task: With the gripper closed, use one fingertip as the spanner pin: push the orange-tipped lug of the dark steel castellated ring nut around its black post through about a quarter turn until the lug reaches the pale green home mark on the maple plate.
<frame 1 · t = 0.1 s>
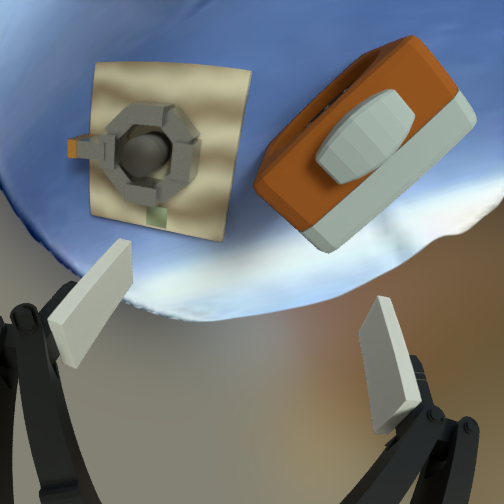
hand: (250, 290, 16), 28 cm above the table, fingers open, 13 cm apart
ring nut: (129, 150, 37), point 4 cm above the table, hinge at 0.0°
alarm clock: (339, 121, 37), on the table
collar base: (159, 146, 41), on the table
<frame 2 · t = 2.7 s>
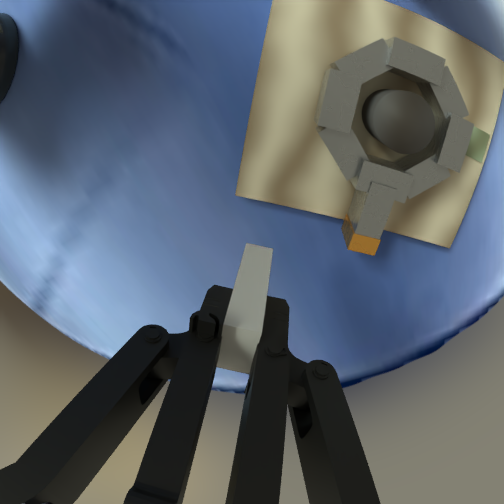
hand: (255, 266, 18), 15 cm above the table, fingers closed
ring nut: (388, 147, 23), point 4 cm above the table, hinge at 0.0°
collar base: (383, 113, 25), on the table
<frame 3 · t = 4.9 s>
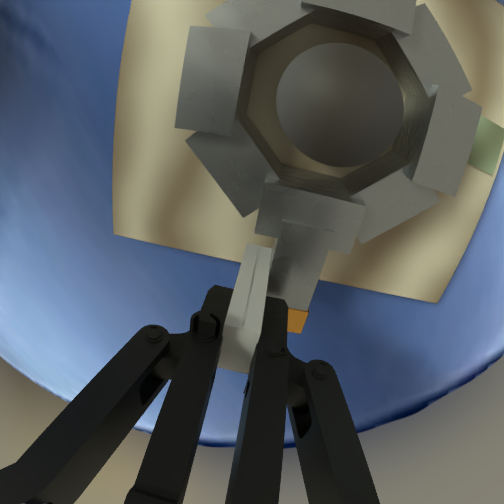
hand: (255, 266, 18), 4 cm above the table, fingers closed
ring nut: (321, 155, 14), point 4 cm above the table, hinge at 0.2°, touching gripper
collar base: (324, 98, 16), on the table
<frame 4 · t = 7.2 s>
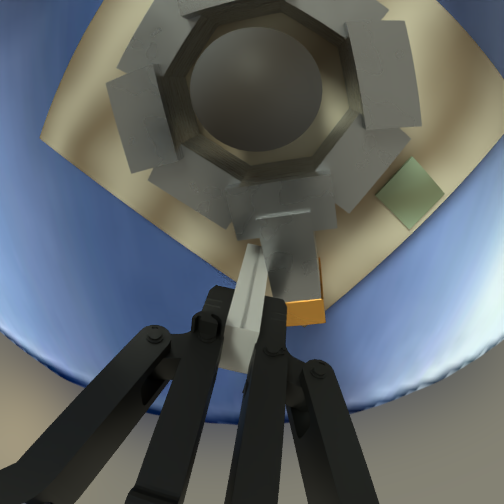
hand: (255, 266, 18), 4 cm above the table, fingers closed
ring nut: (273, 143, 14), point 4 cm above the table, hinge at 48.8°, touching gripper
collar base: (269, 88, 16), on the table
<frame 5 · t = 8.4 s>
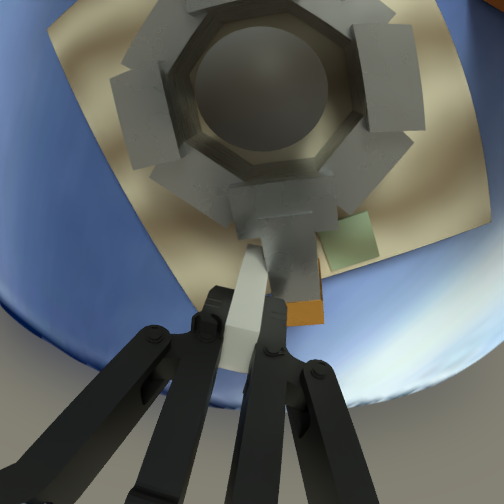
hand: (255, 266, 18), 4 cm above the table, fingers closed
ring nut: (276, 143, 14), point 4 cm above the table, hinge at 76.3°, touching gripper
collar base: (273, 87, 16), on the table
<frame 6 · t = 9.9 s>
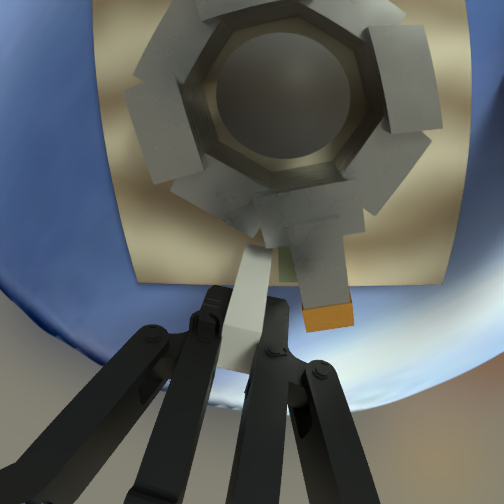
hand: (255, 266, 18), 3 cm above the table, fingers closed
ring nut: (298, 149, 14), point 4 cm above the table, hinge at 101.0°
collar base: (285, 93, 16), on the table
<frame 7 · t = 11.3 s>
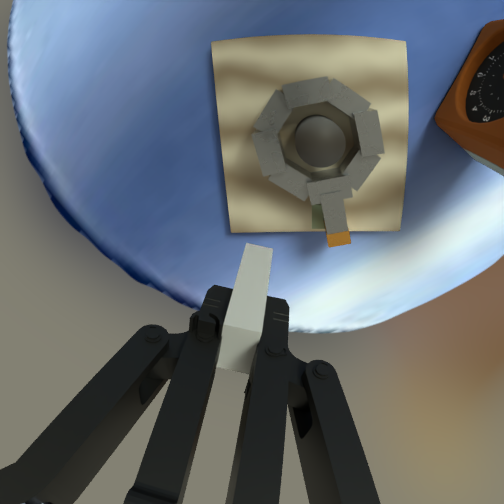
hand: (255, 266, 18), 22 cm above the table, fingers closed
ring nut: (323, 162, 32), point 4 cm above the table, hinge at 101.0°
alarm clock: (481, 88, 28), on the table
collar base: (315, 134, 35), on the table
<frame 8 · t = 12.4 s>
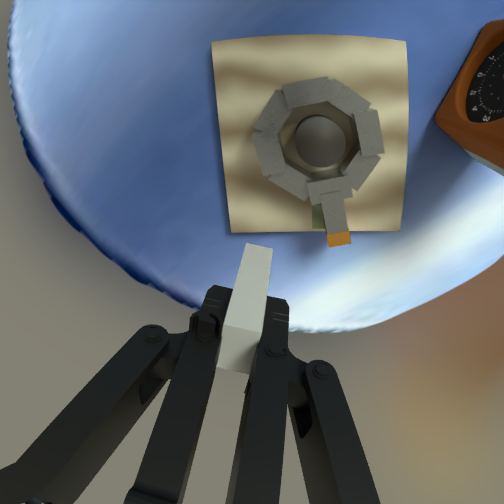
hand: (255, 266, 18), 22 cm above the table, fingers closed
ring nut: (323, 162, 32), point 4 cm above the table, hinge at 101.0°
alarm clock: (482, 88, 28), on the table
collar base: (315, 134, 35), on the table
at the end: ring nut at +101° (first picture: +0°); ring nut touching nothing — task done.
